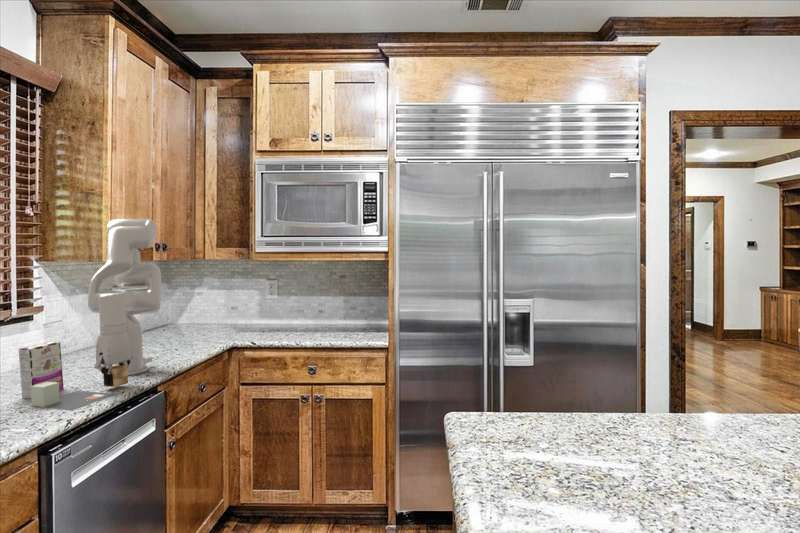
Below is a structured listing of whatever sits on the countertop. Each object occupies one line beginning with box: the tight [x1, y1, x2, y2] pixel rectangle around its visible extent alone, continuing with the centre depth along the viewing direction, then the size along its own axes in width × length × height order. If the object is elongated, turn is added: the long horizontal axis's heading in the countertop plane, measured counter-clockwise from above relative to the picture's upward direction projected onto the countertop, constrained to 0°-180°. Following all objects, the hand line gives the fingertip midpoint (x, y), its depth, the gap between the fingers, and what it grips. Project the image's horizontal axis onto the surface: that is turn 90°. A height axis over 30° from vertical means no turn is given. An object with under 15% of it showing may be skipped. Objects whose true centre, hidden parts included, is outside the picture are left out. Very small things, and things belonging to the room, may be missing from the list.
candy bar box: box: [18, 341, 64, 399], centre depth 161 cm, size 11×5×16 cm, turn 168°
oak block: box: [102, 364, 129, 388], centre depth 165 cm, size 5×5×6 cm
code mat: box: [30, 390, 118, 411], centre depth 154 cm, size 16×17×1 cm
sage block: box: [30, 382, 61, 408], centre depth 150 cm, size 5×5×6 cm
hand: (115, 382), depth 165 cm, fingers closed on oak block, 4 cm apart
